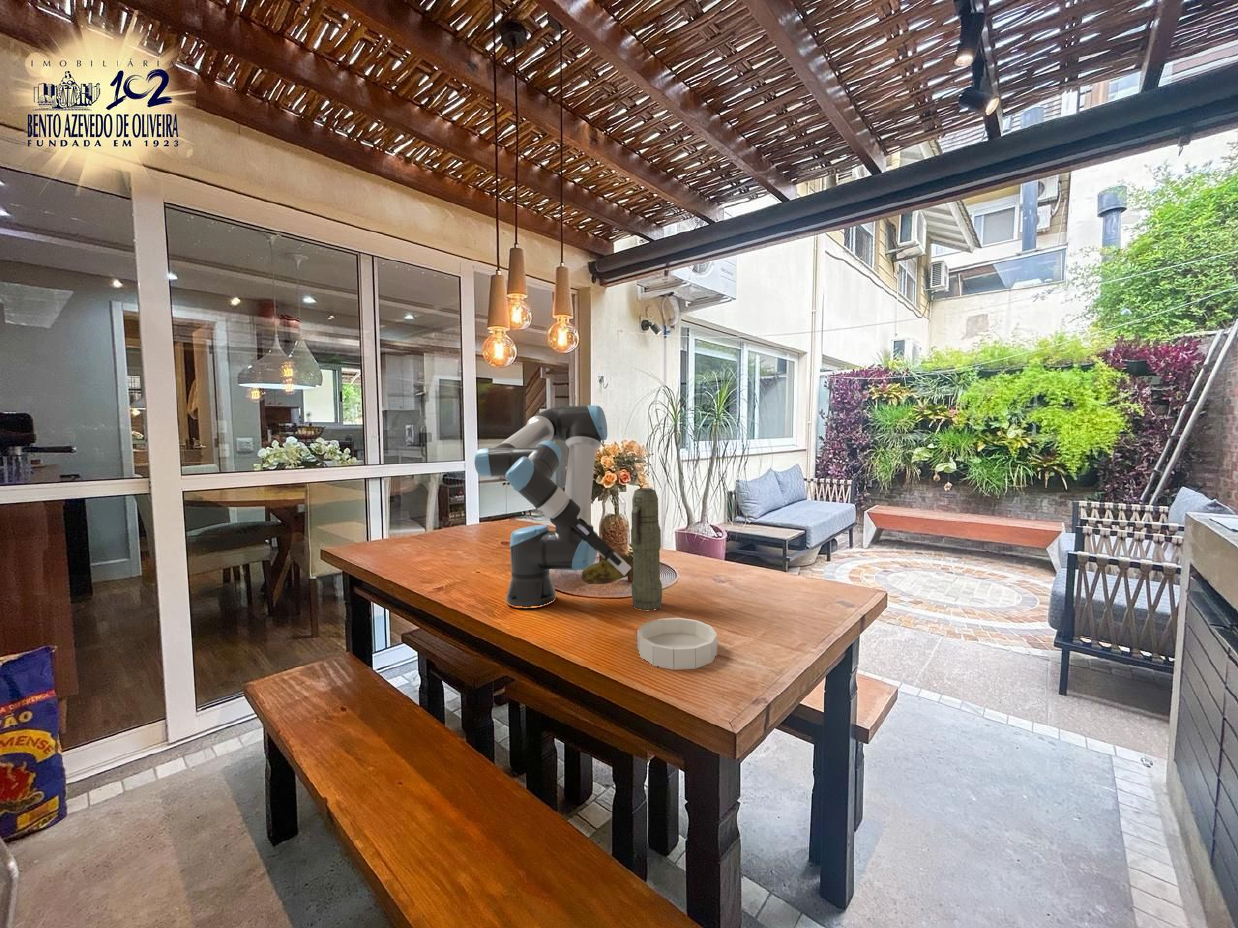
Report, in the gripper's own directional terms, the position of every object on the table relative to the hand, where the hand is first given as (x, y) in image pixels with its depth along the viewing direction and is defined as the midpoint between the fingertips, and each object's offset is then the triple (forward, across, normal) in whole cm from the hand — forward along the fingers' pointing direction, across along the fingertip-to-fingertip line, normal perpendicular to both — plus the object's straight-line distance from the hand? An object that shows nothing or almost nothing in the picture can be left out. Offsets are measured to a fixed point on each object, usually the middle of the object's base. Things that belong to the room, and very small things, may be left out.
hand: (622, 567), depth 126 cm
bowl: (+17, +16, -6) cm, 24 cm away
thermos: (+21, -15, -3) cm, 26 cm away
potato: (+1, 0, -6) cm, 6 cm away
